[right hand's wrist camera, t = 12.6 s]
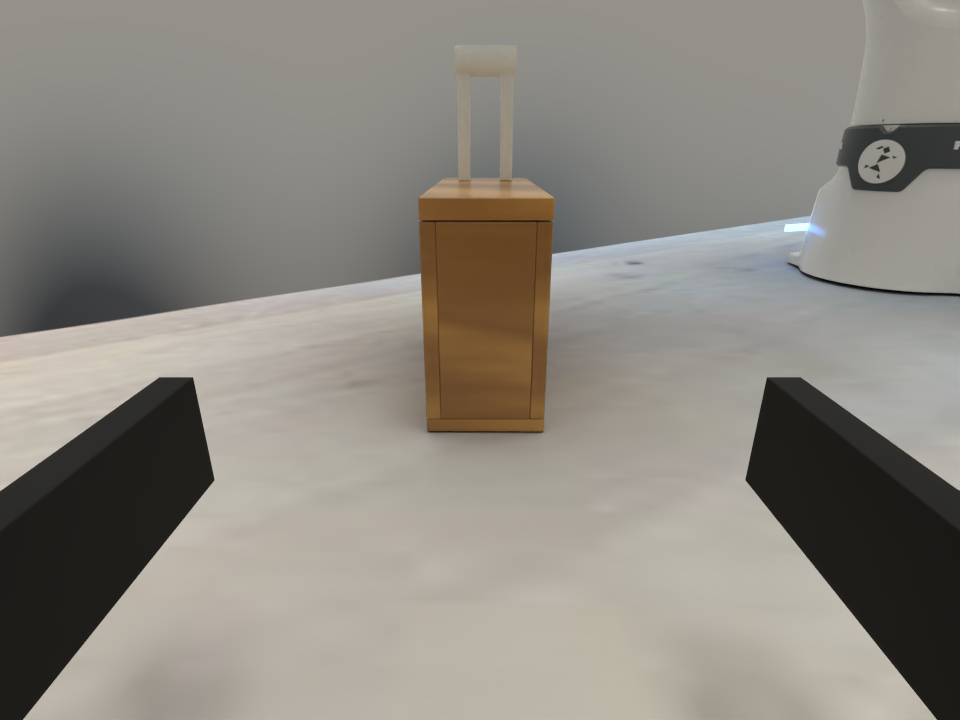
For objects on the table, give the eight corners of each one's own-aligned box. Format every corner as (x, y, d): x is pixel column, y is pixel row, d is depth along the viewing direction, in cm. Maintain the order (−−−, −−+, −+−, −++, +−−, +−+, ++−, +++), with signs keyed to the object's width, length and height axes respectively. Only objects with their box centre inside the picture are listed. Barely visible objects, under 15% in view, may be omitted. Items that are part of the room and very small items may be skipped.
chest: (447, 330, 39) (444, 193, 36) (521, 331, 39) (526, 193, 36) (427, 431, 25) (418, 221, 22) (543, 432, 25) (553, 222, 22)
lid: (444, 192, 36) (441, 54, 33) (525, 191, 36) (529, 54, 33) (418, 220, 22) (409, -19, 19) (553, 220, 22) (565, -19, 19)
